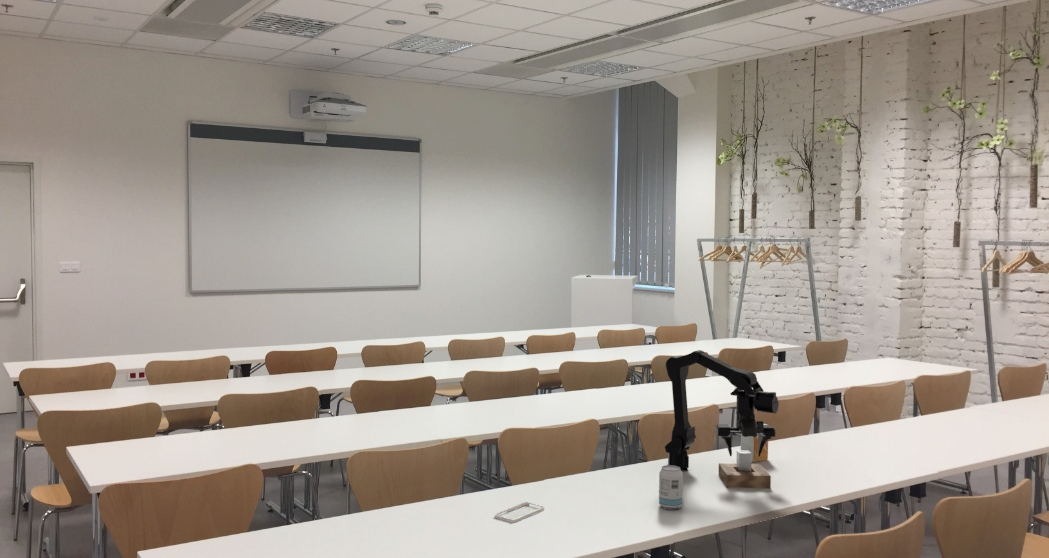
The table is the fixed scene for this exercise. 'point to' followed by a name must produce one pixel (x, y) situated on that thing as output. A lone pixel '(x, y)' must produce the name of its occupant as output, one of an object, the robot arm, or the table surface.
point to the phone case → (521, 516)
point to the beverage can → (670, 487)
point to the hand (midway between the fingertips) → (744, 456)
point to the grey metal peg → (743, 461)
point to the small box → (754, 447)
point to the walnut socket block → (744, 476)
